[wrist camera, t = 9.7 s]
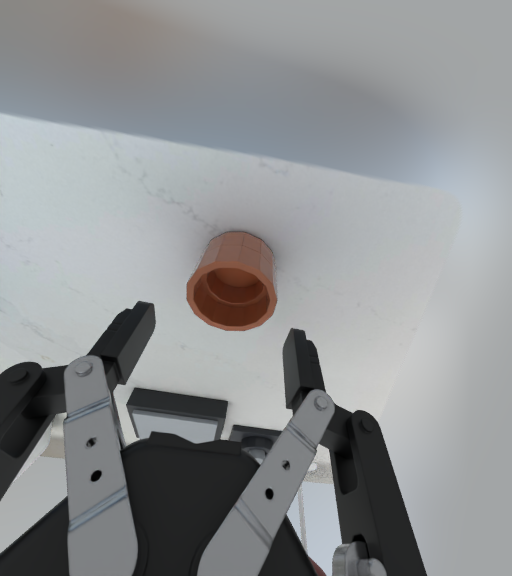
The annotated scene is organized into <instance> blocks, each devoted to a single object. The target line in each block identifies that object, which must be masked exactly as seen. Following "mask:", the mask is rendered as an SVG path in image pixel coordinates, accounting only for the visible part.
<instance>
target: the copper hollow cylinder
mask: <svg viewBox="0 0 512 576" xmlns="http://www.w3.org/2000/svg"><path fill="white" fill-rule="evenodd" d="M187 301H188V303H189V305H190V307H191V308H192V310H193V312H194V314H195V315H196V316H198V317H199V318H200V319H202V320H203V321H204V322H206V323H207V324H208V325H211V326H214V327H217V328H220V329H223V330H226V331H246V330H249V329H252V328H255V327H258V326H260V325H262V324H263V323H264V322H265V321H266V320H268V319H269V318H270V317H271V316H272V315H273V312H274V309H275V306H276V303H277V280H276V265H275V260H274V256H273V252H272V251H271V250H270V249H269V248H268V246H267V245H266V244H265V243H264V242H263V241H262V240H261V239H259V238H256V237H254V236H252V235H250V234H247V233H244V232H227V233H224V234H222V235H220V236H218V237H216V238H214V239H212V240H211V241H210V242H209V244H208V245H207V247H206V248H205V250H204V251H203V253H202V255H201V257H200V259H199V261H198V263H197V265H196V266H195V268H194V270H193V272H192V274H191V276H190V278H189V280H188V282H187Z"/></svg>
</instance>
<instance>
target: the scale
mask: <svg viewBox="0 0 512 576" xmlns="http://www.w3.org/2000/svg"><path fill="white" fill-rule="evenodd" d="M227 405H228V402H227V401H221V400H214V399H207V398H200V397H193V396H186V395H179V394H172V393H166V392H159V391H152V390H145V389H138V388H134V390H133V392H132V394H131V396H130V398H129V400H128V402H127V404H126V406H127V409H128V412H129V415H130V418H131V422H132V425H133V428H134V431H135V434H136V437H137V438H140V440H141V439H144V438H149V436H150V434H151V431H156V432H164V433H172V434H176V435H178V436H180V437H182V438H184V439H187V440H189V441H191V442H193V443H203V442H209V441H215V440H220V438H221V434H222V430H223V426H224V422H225V418H226V412H227Z"/></svg>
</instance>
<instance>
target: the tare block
mask: <svg viewBox="0 0 512 576" xmlns="http://www.w3.org/2000/svg"><path fill="white" fill-rule="evenodd" d="M281 433H282V432H281V431H274V430H266V429H259V428H252V427H245V426H237V425H234V426H233V429H232V432H231V436H230V439H229V441H236V442H242V445H241V449H244V450H245V451H247V452H248V451H249V450H253V449H258V450H263V451H265V457H266V455H267V454H268V452H269V451H270V449H271V448H272V446H273V445H274V443H275V442H276V440H277V439H278V437H279V436H280V434H281Z"/></svg>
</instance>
